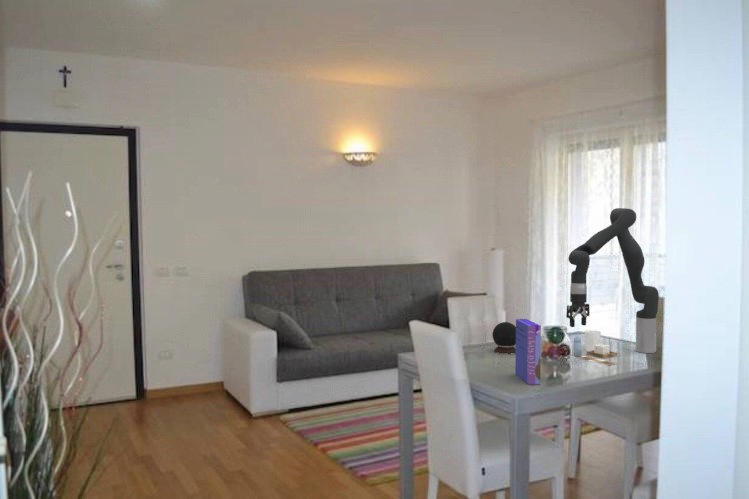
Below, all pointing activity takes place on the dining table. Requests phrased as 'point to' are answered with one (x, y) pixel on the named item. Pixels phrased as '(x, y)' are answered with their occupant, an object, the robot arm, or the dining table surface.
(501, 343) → the black orb on stand
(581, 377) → the dining table surface
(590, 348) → the white cup
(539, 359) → the cereal box
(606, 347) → the die
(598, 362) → the board
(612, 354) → the tray
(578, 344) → the pale blue capsule
